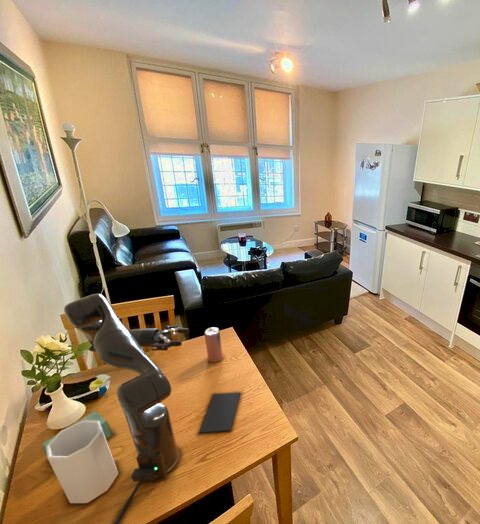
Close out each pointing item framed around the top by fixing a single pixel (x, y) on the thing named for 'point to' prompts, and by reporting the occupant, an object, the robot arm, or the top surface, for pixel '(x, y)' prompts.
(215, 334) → the beverage can
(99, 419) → the box
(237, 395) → the mat
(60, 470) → the cup
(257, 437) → the top surface
